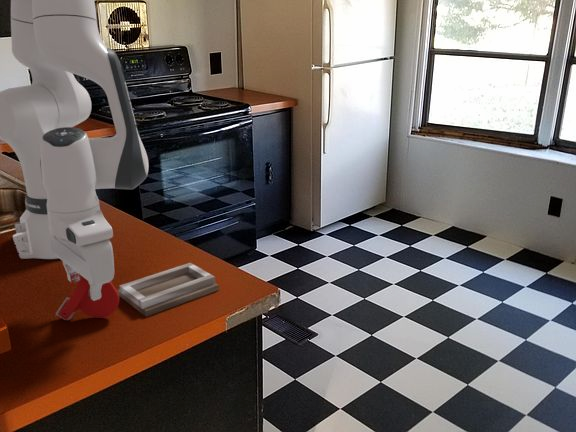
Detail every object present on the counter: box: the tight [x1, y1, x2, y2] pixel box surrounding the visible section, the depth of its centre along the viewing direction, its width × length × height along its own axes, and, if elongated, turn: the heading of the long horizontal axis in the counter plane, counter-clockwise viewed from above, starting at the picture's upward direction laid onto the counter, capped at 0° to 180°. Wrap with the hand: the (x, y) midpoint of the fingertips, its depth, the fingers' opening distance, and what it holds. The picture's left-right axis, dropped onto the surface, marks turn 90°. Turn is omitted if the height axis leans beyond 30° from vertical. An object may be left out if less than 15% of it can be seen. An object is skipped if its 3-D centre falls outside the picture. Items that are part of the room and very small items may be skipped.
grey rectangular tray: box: [116, 262, 220, 318], centre depth 125 cm, size 12×17×3 cm
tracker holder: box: [55, 276, 120, 321], centre depth 113 cm, size 12×4×10 cm, turn 92°
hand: (84, 289), depth 112 cm, fingers open, 8 cm apart
